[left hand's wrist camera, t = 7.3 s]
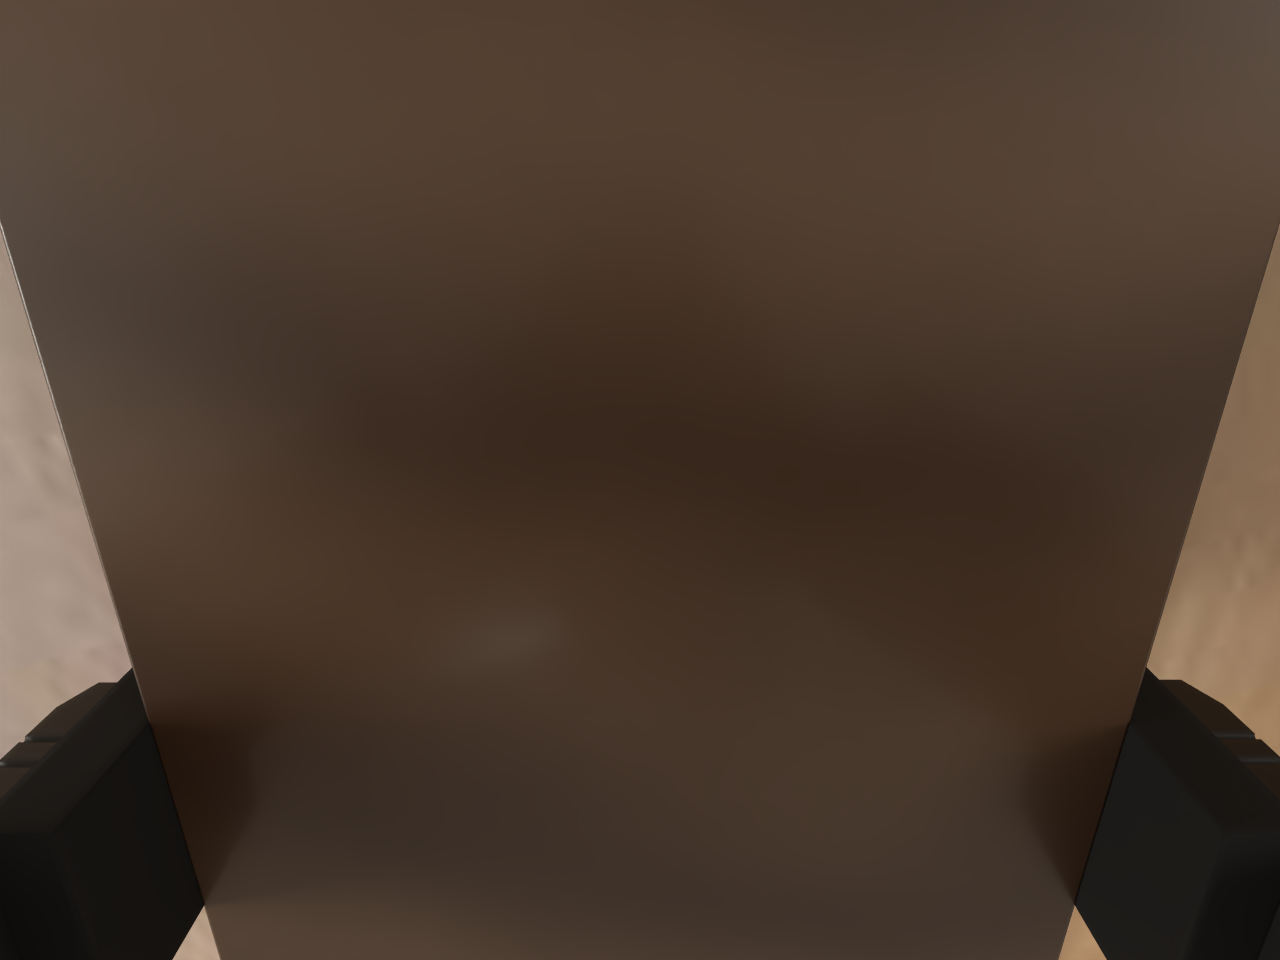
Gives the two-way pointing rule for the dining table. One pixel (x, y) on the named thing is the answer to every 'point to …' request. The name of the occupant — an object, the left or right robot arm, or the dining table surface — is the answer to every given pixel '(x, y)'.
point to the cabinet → (639, 444)
